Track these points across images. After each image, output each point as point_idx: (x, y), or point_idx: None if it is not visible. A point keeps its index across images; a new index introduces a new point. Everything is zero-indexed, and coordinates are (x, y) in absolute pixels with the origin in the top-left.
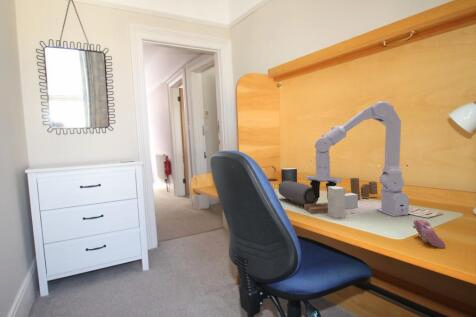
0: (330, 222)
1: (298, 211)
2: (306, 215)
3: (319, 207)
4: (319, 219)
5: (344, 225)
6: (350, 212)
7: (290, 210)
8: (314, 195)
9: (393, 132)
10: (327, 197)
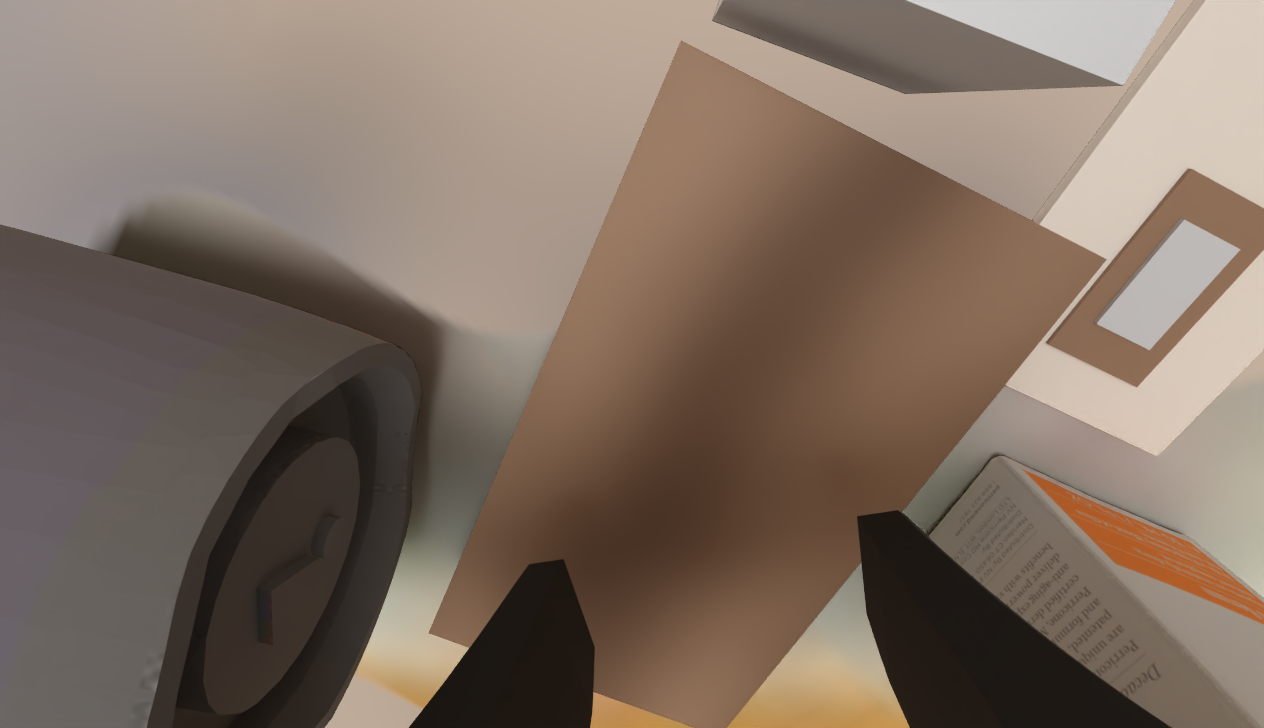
0: None
1: None
2: None
3: (742, 619)
4: (886, 709)
5: None
6: (1191, 228)
7: (363, 666)
8: (289, 467)
9: None
10: (898, 680)
